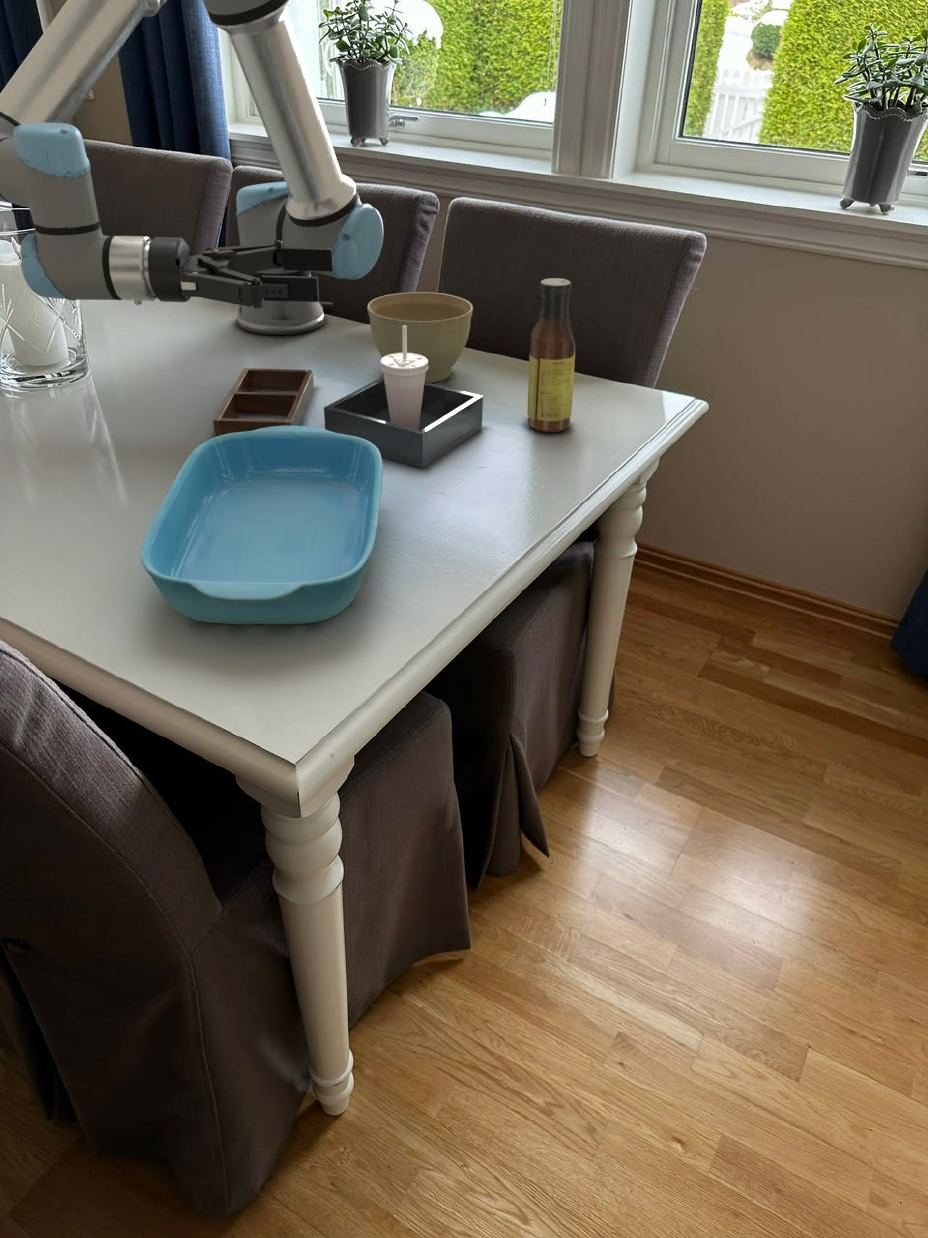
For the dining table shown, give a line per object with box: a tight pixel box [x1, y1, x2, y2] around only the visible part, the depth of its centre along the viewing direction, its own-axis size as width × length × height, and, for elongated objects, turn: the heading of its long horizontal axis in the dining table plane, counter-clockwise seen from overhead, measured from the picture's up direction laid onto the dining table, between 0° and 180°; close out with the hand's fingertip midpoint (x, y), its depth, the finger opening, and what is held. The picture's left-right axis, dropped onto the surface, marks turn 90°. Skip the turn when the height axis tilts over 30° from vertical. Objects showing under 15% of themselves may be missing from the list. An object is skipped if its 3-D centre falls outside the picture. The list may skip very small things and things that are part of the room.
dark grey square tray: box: [323, 376, 484, 470], centre depth 123 cm, size 16×16×5 cm
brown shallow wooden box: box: [212, 367, 315, 437], centre depth 128 cm, size 20×10×3 cm, turn 0°
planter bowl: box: [367, 291, 474, 384], centre depth 141 cm, size 16×16×11 cm
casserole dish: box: [139, 425, 384, 625], centre depth 96 cm, size 37×22×7 cm, turn 1°
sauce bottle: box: [526, 277, 576, 433], centre depth 123 cm, size 7×6×20 cm
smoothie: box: [379, 325, 428, 430], centre depth 120 cm, size 6×6×14 cm
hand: (325, 273), depth 112 cm, fingers open, 13 cm apart
